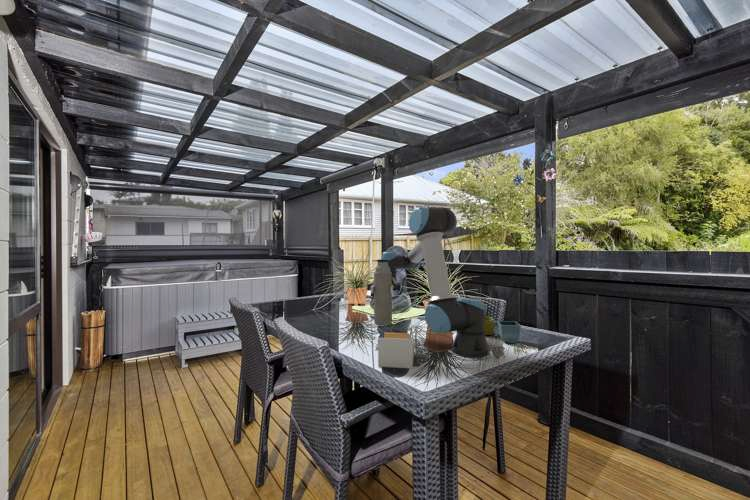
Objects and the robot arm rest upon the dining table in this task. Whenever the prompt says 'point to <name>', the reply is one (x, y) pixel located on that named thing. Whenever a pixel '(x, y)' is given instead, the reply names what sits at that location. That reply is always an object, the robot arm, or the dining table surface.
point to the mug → (489, 326)
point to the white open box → (395, 352)
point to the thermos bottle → (382, 293)
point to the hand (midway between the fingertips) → (381, 290)
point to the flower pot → (509, 331)
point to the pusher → (397, 335)
